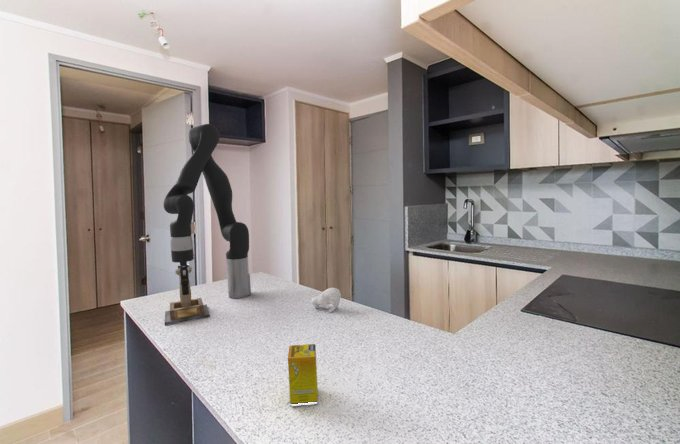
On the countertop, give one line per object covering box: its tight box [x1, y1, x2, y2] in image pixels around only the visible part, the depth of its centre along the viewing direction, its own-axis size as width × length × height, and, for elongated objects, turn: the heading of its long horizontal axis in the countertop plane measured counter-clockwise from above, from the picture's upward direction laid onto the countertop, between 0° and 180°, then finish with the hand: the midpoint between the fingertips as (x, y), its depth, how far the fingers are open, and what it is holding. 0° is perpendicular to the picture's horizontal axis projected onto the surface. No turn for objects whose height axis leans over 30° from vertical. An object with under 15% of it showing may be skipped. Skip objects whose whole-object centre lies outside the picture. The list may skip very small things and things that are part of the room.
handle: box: [174, 266, 193, 308], centre depth 124 cm, size 5×6×15 cm
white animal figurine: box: [311, 287, 342, 313], centre depth 127 cm, size 6×8×12 cm
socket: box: [164, 297, 211, 326], centre depth 125 cm, size 15×13×4 cm
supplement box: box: [287, 343, 319, 404], centre depth 72 cm, size 6×6×11 cm
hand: (185, 292), depth 125 cm, fingers closed on handle, 4 cm apart
